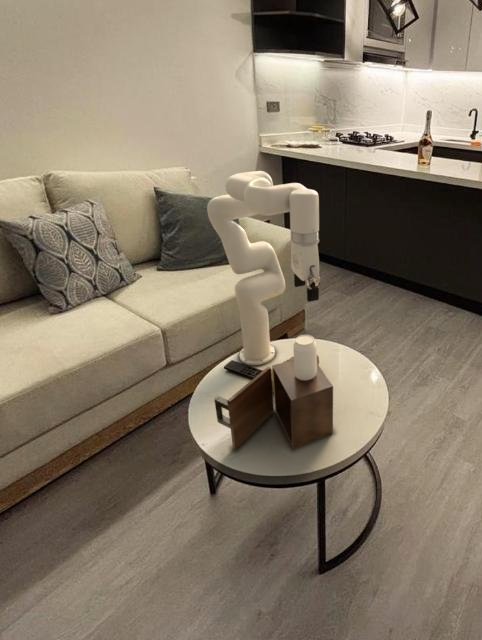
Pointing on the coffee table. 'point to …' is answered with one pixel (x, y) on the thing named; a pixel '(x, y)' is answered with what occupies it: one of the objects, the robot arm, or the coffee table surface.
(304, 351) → the beverage can
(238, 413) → the door
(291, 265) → the robot arm
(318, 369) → the cupboard
